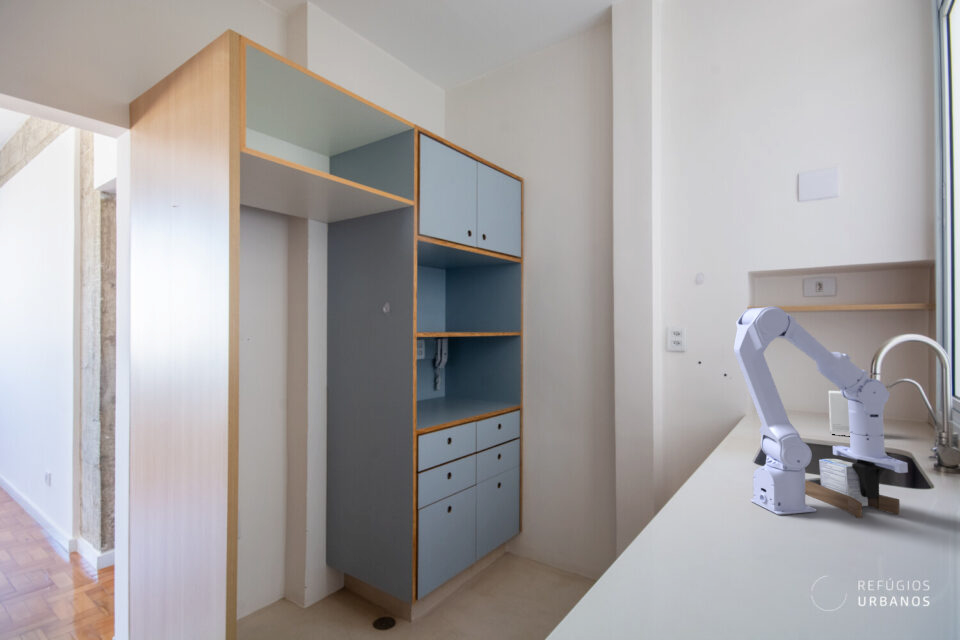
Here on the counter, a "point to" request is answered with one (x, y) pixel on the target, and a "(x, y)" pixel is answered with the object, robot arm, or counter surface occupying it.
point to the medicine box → (841, 478)
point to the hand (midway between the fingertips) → (869, 496)
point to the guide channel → (849, 499)
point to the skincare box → (838, 412)
